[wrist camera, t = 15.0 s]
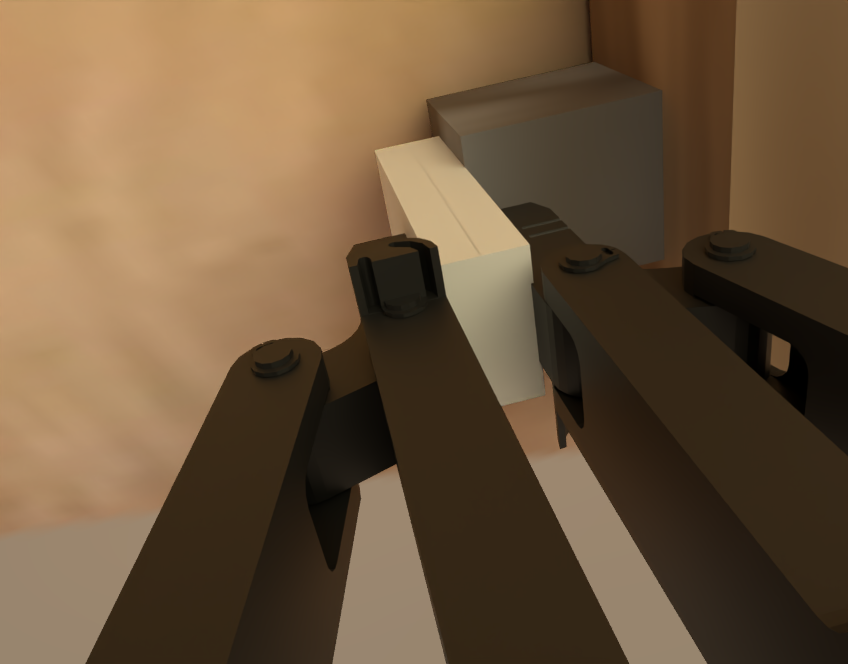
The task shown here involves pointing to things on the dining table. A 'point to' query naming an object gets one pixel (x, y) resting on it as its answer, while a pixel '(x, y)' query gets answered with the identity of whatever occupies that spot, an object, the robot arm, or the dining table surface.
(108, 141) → the dining table surface
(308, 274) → the dining table surface
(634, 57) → the block
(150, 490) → the dining table surface
